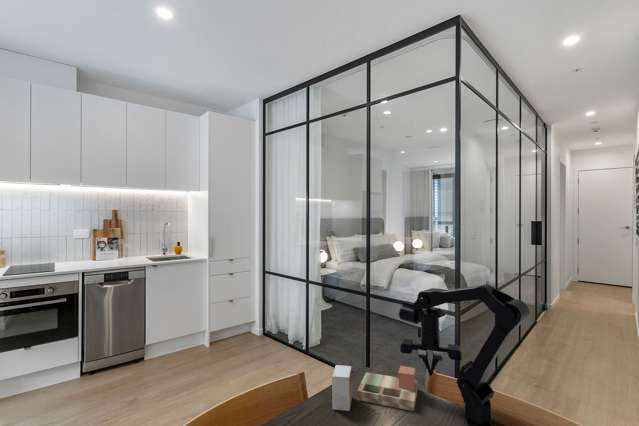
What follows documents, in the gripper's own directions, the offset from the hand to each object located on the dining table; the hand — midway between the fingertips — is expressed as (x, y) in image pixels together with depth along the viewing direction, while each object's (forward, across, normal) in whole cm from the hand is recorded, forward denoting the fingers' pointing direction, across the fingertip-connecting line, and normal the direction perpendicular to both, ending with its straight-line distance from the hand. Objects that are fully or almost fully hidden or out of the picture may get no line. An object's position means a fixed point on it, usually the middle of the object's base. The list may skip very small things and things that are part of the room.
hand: (430, 375), depth 106 cm
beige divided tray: (+8, +14, +2) cm, 16 cm away
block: (+5, +8, 0) cm, 9 cm away
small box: (+8, +27, +12) cm, 30 cm away
